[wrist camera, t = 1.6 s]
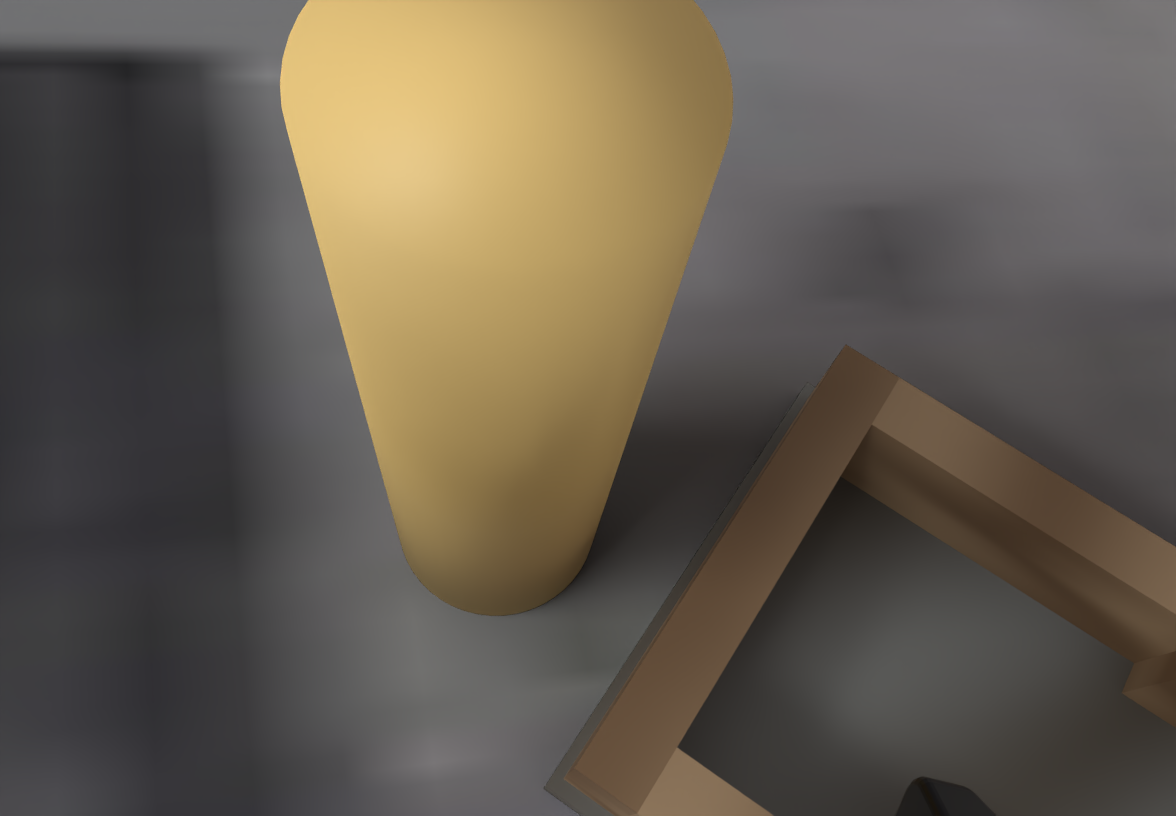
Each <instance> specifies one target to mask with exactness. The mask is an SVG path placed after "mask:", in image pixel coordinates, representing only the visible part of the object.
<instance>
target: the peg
mask: <svg viewBox="0 0 1176 816" xmlns="http://www.w3.org/2000/svg"><path fill="white" fill-rule="evenodd" d="M280 90H281V106H282V111H283V115H284V119H285V123H286V128H287V132H288V135H289V139H290V143H291V146H292V150H293V154H294V157H295V161H296V165H297V168H298V172H299V175H300V179H301V183H302V186H303V190H304V194H305V197H306V201H307V204H308V208H309V212H310V215H311V219H312V223H313V226H314V230H315V234H316V237H317V241H318V244H319V248H320V252H321V255H322V259H323V263H324V266H325V270H326V273H327V277H328V281H329V284H330V288H331V292H332V295H333V299H334V303H335V306H336V310H337V313H338V317H339V321H340V324H341V328H342V332H343V335H344V339H345V342H346V346H347V350H348V353H349V357H350V361H351V364H352V368H353V372H354V375H355V379H356V382H357V386H358V390H359V393H360V397H361V401H362V404H363V408H364V412H365V415H366V419H367V422H368V426H369V430H370V433H371V437H372V441H373V444H374V448H375V451H376V455H377V459H378V462H379V466H380V470H381V473H382V477H383V481H384V484H385V488H386V491H387V495H388V499H389V502H390V506H391V510H392V513H393V517H394V520H395V524H396V528H397V531H398V535H399V539H400V542H401V546H402V550H403V552H404V555H405V557H406V560H407V562H408V564H409V566H410V567H411V569H412V571H413V573H414V574H415V575H416V576H417V578H418V579H419V580H420V582H421V583H422V584H423V585H424V586H425V587H426V588H427V589H428V590H429V591H430V592H431V593H433V594H434V595H435V596H437V597H438V598H439V599H441V600H442V601H444V602H446V603H448V604H450V605H451V606H453V607H456V608H459V609H461V610H464V611H467V612H471V613H475V614H481V615H489V616H503V615H511V614H517V613H521V612H524V611H528V610H531V609H533V608H536V607H538V606H540V605H543V604H544V603H546V602H548V601H549V600H551V599H553V598H554V597H555V596H557V595H558V594H559V593H560V592H562V591H563V590H564V589H565V588H566V587H567V586H568V585H569V584H570V583H571V582H572V581H573V579H574V578H575V577H576V575H577V574H578V573H579V571H580V570H581V568H582V566H583V564H584V563H585V561H586V559H587V556H588V554H589V551H590V548H591V545H592V542H593V540H594V537H595V534H596V531H597V528H598V525H599V522H600V519H601V516H602V513H603V510H604V507H605V504H606V501H607V498H608V495H609V492H610V489H611V486H612V483H613V480H614V477H615V474H616V471H617V468H618V466H619V463H620V460H621V457H622V454H623V451H624V448H625V445H626V442H627V439H628V436H629V433H630V430H631V427H632V424H633V421H634V418H635V415H636V412H637V409H638V406H639V403H640V400H641V397H642V395H643V392H644V389H645V386H646V383H647V380H648V377H649V374H650V371H651V368H652V365H653V362H654V359H655V356H656V353H657V350H658V347H659V344H660V341H661V338H662V335H663V332H664V329H665V326H666V323H667V321H668V318H669V315H670V312H671V309H672V306H673V303H674V300H675V297H676V294H677V291H678V288H679V285H680V282H681V279H682V276H683V273H684V270H685V267H686V264H687V261H688V258H689V255H690V252H691V249H692V247H693V244H694V241H695V238H696V235H697V232H698V229H699V226H700V223H701V220H702V217H703V214H704V211H705V208H706V205H707V202H708V199H709V196H710V193H711V190H712V187H713V184H714V181H715V178H716V175H717V173H718V170H719V167H720V164H721V161H722V158H723V155H724V152H725V149H726V146H727V142H728V138H729V133H730V129H731V124H732V113H733V92H732V83H731V75H730V71H729V68H728V64H727V60H726V57H725V53H724V51H723V49H722V46H721V44H720V42H719V39H718V37H717V35H716V33H715V31H714V29H713V28H712V26H711V24H710V23H709V21H708V20H707V18H706V16H705V15H704V13H703V11H702V10H701V9H700V8H699V7H698V5H697V4H696V3H695V2H694V0H309V1H308V2H307V3H306V5H305V6H304V8H303V9H302V11H301V12H300V14H299V16H298V18H297V20H296V22H295V24H294V26H293V29H292V31H291V33H290V35H289V38H288V42H287V45H286V49H285V52H284V56H283V60H282V69H281V78H280Z"/></svg>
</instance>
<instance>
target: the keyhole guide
mask: <svg viewBox="0 0 1176 816" xmlns="http://www.w3.org/2000/svg"><path fill="white" fill-rule="evenodd" d="M921 776H925V777H929V778H934V779H938V780H942V781H946V782H950V783H954V784H958V785H962V786H965V787H967V788H969V789H971V790H972V791H973V792H974V793H975V794H976V795H977V796H978V797H979V798H980V799H981V800H982V801H983V802H984V803H985V804H986V805H987V806H988V807H989V808H990V809H991V810H992V811H993V812H994V813H995V814H996V815H997V816H1176V547H1175V546H1173V545H1172V544H1170V543H1168V542H1167V541H1165V540H1163V539H1162V538H1160V537H1159V536H1157V535H1155V534H1154V533H1152V532H1150V531H1149V530H1147V529H1146V528H1144V527H1142V526H1141V525H1139V524H1137V523H1136V522H1134V521H1133V520H1131V519H1129V518H1128V517H1126V516H1124V515H1123V514H1121V513H1119V512H1118V511H1116V510H1115V509H1113V508H1111V507H1110V506H1108V505H1106V504H1105V503H1103V502H1102V501H1100V500H1098V499H1097V498H1095V497H1093V496H1092V495H1090V494H1089V493H1087V492H1085V491H1084V490H1082V489H1080V488H1079V487H1077V486H1075V485H1074V484H1072V483H1071V482H1069V481H1067V480H1066V479H1064V478H1062V477H1061V476H1059V475H1058V474H1056V473H1054V472H1053V471H1051V470H1049V469H1048V468H1046V467H1044V466H1043V465H1041V464H1040V463H1038V462H1036V461H1035V460H1033V459H1031V458H1030V457H1028V456H1027V455H1025V454H1023V453H1022V452H1020V451H1018V450H1017V449H1015V448H1014V447H1012V446H1010V445H1009V444H1007V443H1005V442H1004V441H1002V440H1000V439H999V438H997V437H996V436H994V435H992V434H991V433H989V432H987V431H986V430H984V429H983V428H981V427H979V426H978V425H976V424H974V423H973V422H971V421H970V420H968V419H966V418H965V417H963V416H961V415H960V414H958V413H956V412H955V411H953V410H952V409H950V408H948V407H947V406H945V405H943V404H942V403H940V402H939V401H937V400H935V399H934V398H932V397H930V396H929V395H927V394H925V393H924V392H922V391H921V390H919V389H917V388H916V387H914V386H912V385H911V384H909V383H908V382H906V381H904V380H903V379H901V378H899V377H898V376H896V375H895V374H893V373H891V372H890V371H888V370H886V369H885V368H883V367H881V366H880V365H878V364H877V363H875V362H873V361H872V360H870V359H868V358H867V357H865V356H864V355H862V354H860V353H859V352H857V351H855V350H854V349H852V348H851V347H849V346H847V345H845V346H844V348H843V349H842V351H841V352H840V353H839V355H838V356H837V358H836V359H835V361H834V362H833V363H832V365H831V366H830V368H829V369H828V371H827V372H826V373H825V375H824V376H823V378H822V379H821V381H820V382H819V383H818V385H817V386H816V387H814V386H813V385H811V384H809V383H808V382H807V383H806V385H805V386H804V388H803V389H802V391H801V392H800V394H799V395H798V397H797V398H796V400H795V402H794V403H793V405H792V406H791V408H790V409H789V411H788V412H787V414H786V415H785V417H784V419H783V420H782V422H781V423H780V425H779V426H778V428H777V429H776V431H775V432H774V434H773V435H772V437H771V439H770V440H769V442H768V443H767V445H766V446H765V448H764V449H763V451H762V452H761V454H760V456H759V457H758V459H757V460H756V462H755V463H754V465H753V466H752V468H751V469H750V471H749V473H748V474H747V476H746V477H745V479H744V480H743V482H742V483H741V485H740V486H739V488H738V489H737V491H736V493H735V494H734V496H733V497H732V499H731V500H730V502H729V503H728V505H727V506H726V508H725V510H724V511H723V513H722V514H721V516H720V517H719V519H718V520H717V522H716V523H715V525H714V526H713V528H712V530H711V531H710V533H709V534H708V536H707V537H706V539H705V540H704V542H703V543H702V545H701V547H700V548H699V550H698V551H697V553H696V554H695V556H694V557H693V559H692V560H691V562H690V563H689V565H688V567H687V568H686V570H685V571H684V573H683V574H682V576H681V577H680V579H679V580H678V582H677V584H676V585H675V587H674V588H673V590H672V591H671V593H670V594H669V596H668V597H667V599H666V601H665V602H664V604H663V605H662V607H661V608H660V610H659V611H658V613H657V614H656V616H655V617H654V619H653V621H652V622H651V624H650V625H649V627H648V628H647V630H646V631H645V633H644V634H643V636H642V638H641V639H640V641H639V642H638V644H637V645H636V647H635V648H634V650H633V651H632V653H631V654H630V656H629V658H628V659H627V661H626V662H625V664H624V665H623V667H622V668H621V670H620V671H619V673H618V675H617V676H616V678H615V679H614V681H613V682H612V684H611V685H610V687H609V688H608V690H607V691H606V693H605V695H604V696H603V698H602V699H601V701H600V702H599V704H598V705H597V707H596V708H595V710H594V712H593V713H592V715H591V716H590V718H589V719H588V721H587V722H586V724H585V725H584V727H583V729H582V730H581V732H580V733H579V735H578V736H577V738H576V739H575V741H574V742H573V744H572V745H571V747H570V749H569V750H568V752H567V753H566V755H565V756H564V758H563V759H562V761H561V762H560V764H559V766H558V767H557V769H556V770H555V772H554V773H553V775H552V776H551V778H550V779H549V781H548V782H547V784H546V786H545V787H544V789H545V790H546V791H548V792H549V793H550V794H552V795H553V796H554V797H556V798H557V799H559V800H560V801H561V802H563V803H564V804H565V805H567V806H568V807H570V808H571V809H572V810H574V811H575V812H576V813H578V814H579V815H581V816H895V814H896V812H897V809H898V807H899V805H900V803H901V800H902V798H903V796H904V793H905V791H906V789H907V787H908V786H909V785H910V783H911V782H912V781H913V780H914V779H916V778H919V777H921Z"/></svg>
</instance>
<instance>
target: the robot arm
mask: <svg viewBox="0 0 1176 816" xmlns="http://www.w3.org/2000/svg"><path fill="white" fill-rule="evenodd" d="M895 816H997V815H996V814H995V813H994V812H993V811H992V810H991V809H990V808H989V807H988V806H987V805H986V804H985V803H984V802H983V801H982V800H981V799H980V798H979V797H978V796H977V795H976V794H975V793H974V792H973V791H972V790H971V789H969V788H967V787H965V786H962V785H958V784H954V783H950V782H946V781H942V780H938V779H934V778H929V777H925V776H921V777H919V778H916V779H914V780H913V781H912V782H911V783H910V785H909V786H908V787H907V789H906V791H905V793H904V796H903V798H902V800H901V803H900V805H899V807H898V809H897V812H896V814H895Z"/></svg>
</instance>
